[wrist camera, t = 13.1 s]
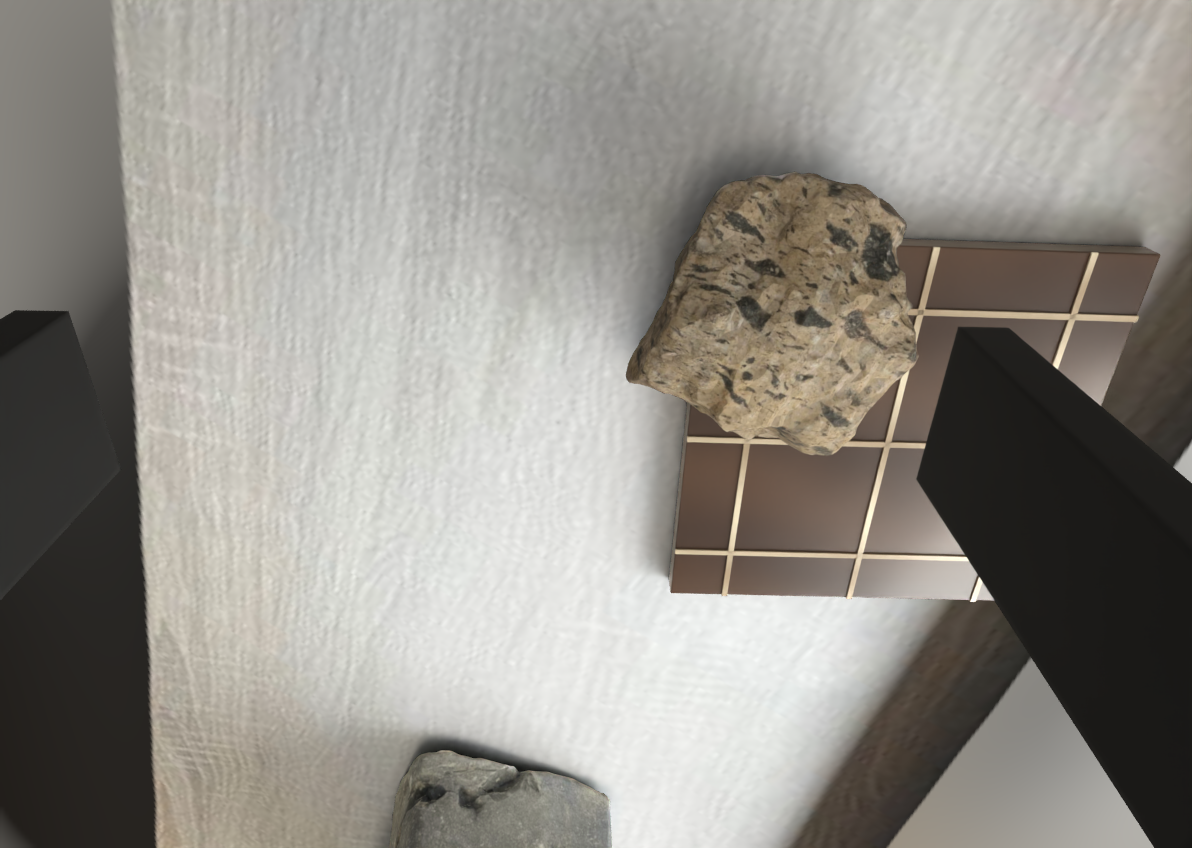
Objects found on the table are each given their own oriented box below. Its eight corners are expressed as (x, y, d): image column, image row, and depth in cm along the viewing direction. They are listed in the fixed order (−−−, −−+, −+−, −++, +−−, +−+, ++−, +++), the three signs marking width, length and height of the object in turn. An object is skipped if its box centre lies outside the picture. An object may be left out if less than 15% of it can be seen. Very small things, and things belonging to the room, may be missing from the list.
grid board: (704, 231, 35) (708, 240, 34) (1145, 246, 36) (1164, 255, 34) (668, 579, 45) (670, 595, 44) (1014, 587, 45) (1026, 604, 44)
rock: (956, 241, 34) (1004, 274, 30) (804, 448, 39) (828, 499, 35) (739, 119, 31) (760, 139, 28) (606, 358, 37) (608, 403, 33)
